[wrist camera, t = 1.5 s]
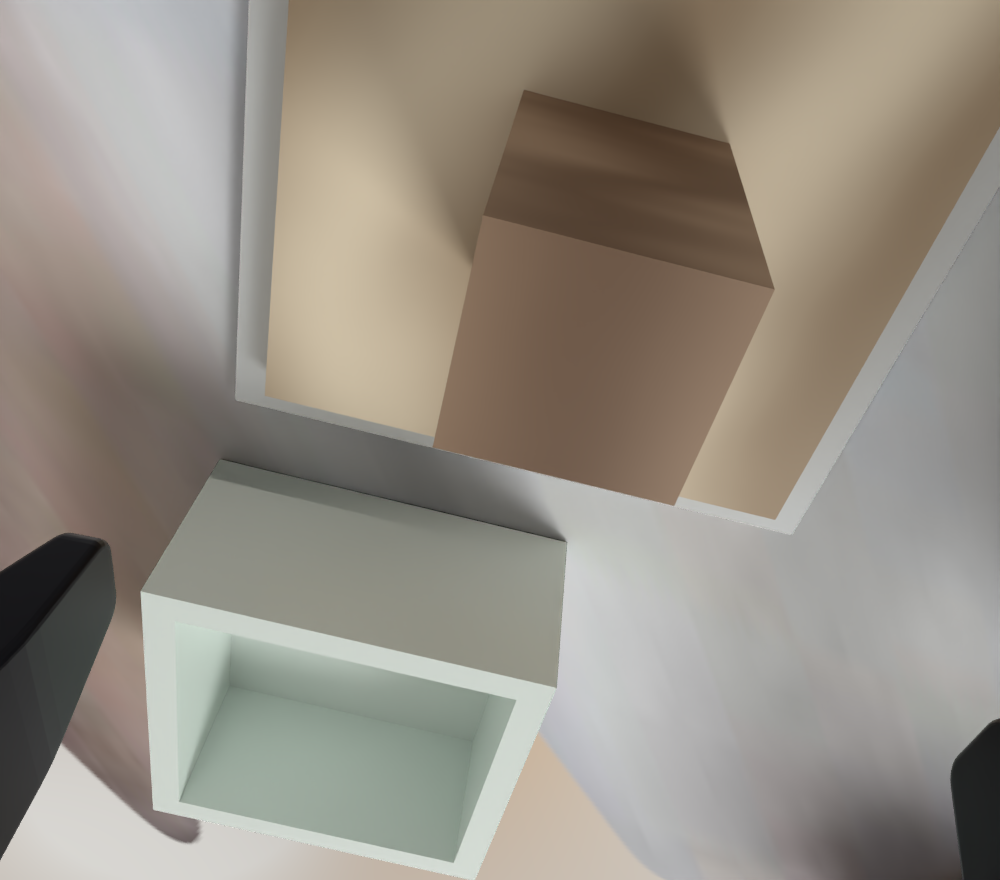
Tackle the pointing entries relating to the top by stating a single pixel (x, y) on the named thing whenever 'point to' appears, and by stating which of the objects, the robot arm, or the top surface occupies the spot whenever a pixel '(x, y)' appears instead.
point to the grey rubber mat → (250, 388)
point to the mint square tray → (347, 668)
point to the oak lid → (615, 222)
